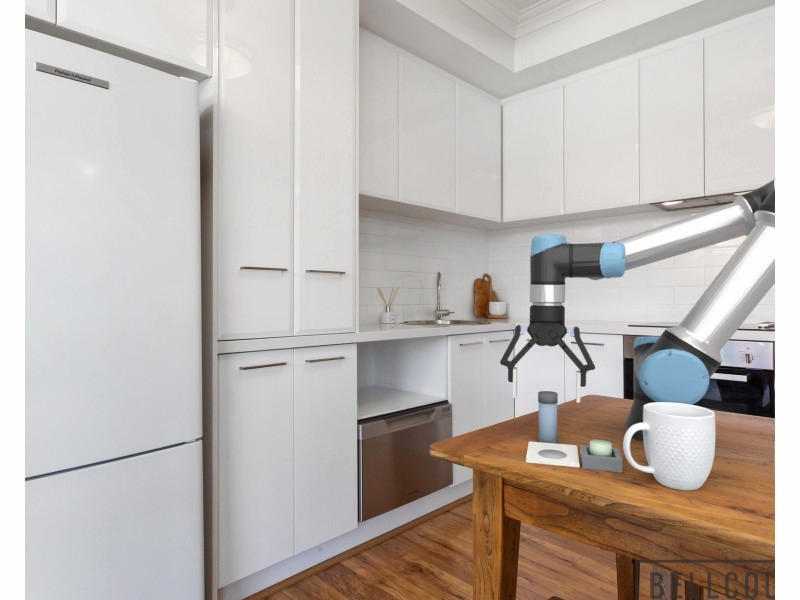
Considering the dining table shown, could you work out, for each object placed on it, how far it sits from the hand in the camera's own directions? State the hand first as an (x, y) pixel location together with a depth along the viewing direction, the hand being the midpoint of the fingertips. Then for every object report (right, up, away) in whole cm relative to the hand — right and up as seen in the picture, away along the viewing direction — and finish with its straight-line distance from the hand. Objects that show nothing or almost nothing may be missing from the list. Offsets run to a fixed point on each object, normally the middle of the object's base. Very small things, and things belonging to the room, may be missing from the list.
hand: (545, 399), depth 109 cm
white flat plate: (-1, -10, -9) cm, 13 cm away
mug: (+15, -10, -24) cm, 30 cm away
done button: (+6, -8, -14) cm, 18 cm away
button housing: (+6, -10, -14) cm, 19 cm away
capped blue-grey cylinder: (0, -10, 0) cm, 10 cm away
